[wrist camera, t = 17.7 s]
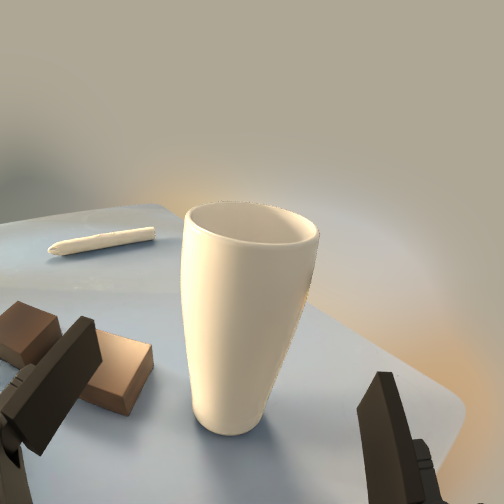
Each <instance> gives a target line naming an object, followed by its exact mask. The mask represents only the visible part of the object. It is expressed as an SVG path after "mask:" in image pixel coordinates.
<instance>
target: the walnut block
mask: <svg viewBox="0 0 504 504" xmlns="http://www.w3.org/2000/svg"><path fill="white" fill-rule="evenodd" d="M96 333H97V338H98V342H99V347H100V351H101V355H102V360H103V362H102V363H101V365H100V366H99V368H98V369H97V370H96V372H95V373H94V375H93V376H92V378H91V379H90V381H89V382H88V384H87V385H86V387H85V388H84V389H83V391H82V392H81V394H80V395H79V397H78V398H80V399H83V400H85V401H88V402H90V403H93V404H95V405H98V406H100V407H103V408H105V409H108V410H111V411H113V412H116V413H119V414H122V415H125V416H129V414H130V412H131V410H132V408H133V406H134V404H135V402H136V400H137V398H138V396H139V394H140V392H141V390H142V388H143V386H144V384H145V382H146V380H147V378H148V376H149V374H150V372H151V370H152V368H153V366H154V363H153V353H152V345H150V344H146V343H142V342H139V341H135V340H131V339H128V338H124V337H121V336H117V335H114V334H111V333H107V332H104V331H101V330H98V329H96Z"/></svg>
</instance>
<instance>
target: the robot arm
mask: <svg viewBox="0 0 504 504" xmlns="http://www.w3.org/2000/svg"><path fill="white" fill-rule="evenodd" d="M102 362H103V360H102V355H101V351H100V347H99V342H98V338H97V333H96V328H95V323H94V320H93V319H90V318H87V317H84V316H81V317H80V318H79V319H78V320H77V321H76V322H75V323H74V324H73V325H72V326H71V327H70V328H69V329H68V330H67V332H66V333H65V334H64V335H63V336H62V337H61V338H60V339H59V340H58V341H57V343H56V344H55V345H54V346H53V347H52V348H51V349H50V350H49V352H48V353H47V354H46V355H45V356H44V357H43V358H42V360H41V361H40V362H39V363H38V364H37V365H36V366H35V365H33V364H29V365H27V366H25V367H24V368H22V369H21V370H20V371H19V372H18V374H17V375H16V376H15V378H13V379H12V381H11V382H10V384H8V385H7V387H6V388H5V389H4V390H3V391H2V393H1V394H0V504H33V502H32V498H31V494H30V490H29V486H28V482H27V477H26V472H25V467H24V461H23V455H22V450H21V447H20V444H21V443H22V442H23V443H24V444H25V446H26V447H27V448H28V449H29V450H31V451H32V452H34V453H36V454H37V455H39V456H41V455H42V454H43V452H44V450H45V449H46V447H47V445H48V444H49V442H50V441H51V439H52V437H53V436H54V434H55V433H56V431H57V429H58V428H59V426H60V425H61V423H62V421H63V420H64V418H65V417H66V415H67V414H68V412H69V411H70V409H71V408H72V406H73V405H74V403H75V401H76V400H77V398H78V397H79V395H80V394H81V392H82V391H83V389H84V388H85V387H86V385H87V384H88V382H89V381H90V379H91V378H92V376H93V375H94V373H95V372H96V370H97V369H98V368H99V366H100V365H101V363H102ZM357 415H358V421H359V427H360V434H361V441H362V448H363V456H364V464H365V472H366V481H367V490H368V500H369V504H448V503H447V502H445V501H443V500H442V498H441V495H440V490H439V486H438V482H437V478H436V474H435V470H434V468H433V467H434V466H433V462H432V460H431V455H430V451H429V448H428V446H427V445H426V444H425V442H424V441H423V439H414V440H412V437H411V434H410V430H409V426H408V423H407V419H406V416H405V412H404V409H403V405H402V402H401V399H400V396H399V392H398V389H397V386H396V383H395V380H394V377H393V374H392V372H378V371H377V373H376V375H375V377H374V379H373V381H372V383H371V384H370V386H369V388H368V390H367V392H366V393H365V395H364V397H363V399H362V400H361V402H360V404H359V406H358V407H357ZM479 504H483V503H479Z"/></svg>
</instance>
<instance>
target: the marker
mask: <svg viewBox="0 0 504 504" xmlns="http://www.w3.org/2000/svg"><path fill="white" fill-rule="evenodd" d="M155 236H156V235H155V229H154V228H153V227H147V228H140V229H134V230H127V231H121V232H111V233H107V234H99V235H95V236H89V237H84V238H78V239H72V240H66V241H61V242H58V243H56V244H54V245H52V246H51V247H50V248H49V250H48V252H49V253H51V254H54V255H67V254H73V253H78V252H83V251H89V250H94V249H100V248H106V247H111V246H117V245H123V244H129V243H134V242H140V241H146V240H152V239H155Z"/></svg>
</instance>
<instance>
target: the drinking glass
mask: <svg viewBox="0 0 504 504" xmlns="http://www.w3.org/2000/svg"><path fill="white" fill-rule="evenodd" d="M319 237H320V233H319V230H318V228H317V227H316V226H315V225H314V224H313V223H312V222H311V221H310V220H308V219H306V218H305V217H303V216H300V215H298V214H296V213H294V212H291V211H288V210H285V209H282V208H277V207H273V206H269V205H264V204H258V203H250V202H238V201H237V202H236V201H222V202H211V203H206V204H202V205H199V206H196V207H194V208H192V209H191V210H189V211H188V212H187V214H186V217H185V224H184V233H183V243H182V256H181V300H182V313H183V323H184V332H185V341H186V350H187V358H188V366H189V374H190V382H191V390H192V408H193V412H194V415H195V417H196V419H197V420H198V421H199V423H200V424H201V425H202V426H204V427H205V428H206V429H208V430H210V431H212V432H214V433H217V434H221V435H239V434H243V433H246V432H248V431H250V430H251V429H253V428H254V427H255V426H256V425H257V424H258V423H259V422H260V420H261V418H262V416H263V413H264V409H265V406H266V403H267V400H268V398H269V395H270V393H271V391H272V388H273V386H274V383H275V381H276V379H277V376H278V374H279V371H280V369H281V366H282V364H283V361H284V359H285V356H286V354H287V352H288V349H289V347H290V344H291V341H292V339H293V336H294V334H295V331H296V329H297V326H298V323H299V320H300V318H301V315H302V312H303V309H304V306H305V302H306V299H307V295H308V291H309V288H310V284H311V279H312V275H313V270H314V265H315V260H316V254H317V248H318V242H319Z"/></svg>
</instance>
